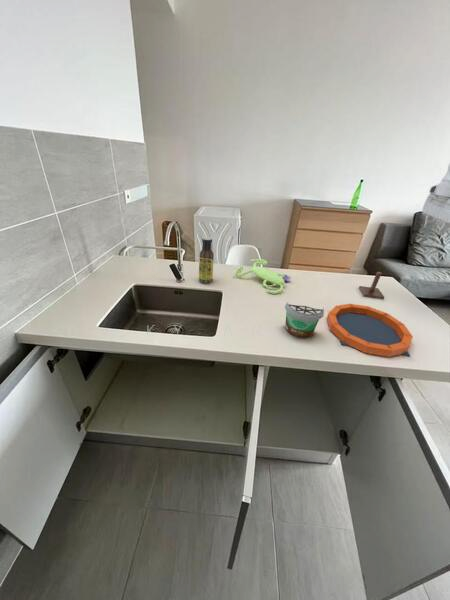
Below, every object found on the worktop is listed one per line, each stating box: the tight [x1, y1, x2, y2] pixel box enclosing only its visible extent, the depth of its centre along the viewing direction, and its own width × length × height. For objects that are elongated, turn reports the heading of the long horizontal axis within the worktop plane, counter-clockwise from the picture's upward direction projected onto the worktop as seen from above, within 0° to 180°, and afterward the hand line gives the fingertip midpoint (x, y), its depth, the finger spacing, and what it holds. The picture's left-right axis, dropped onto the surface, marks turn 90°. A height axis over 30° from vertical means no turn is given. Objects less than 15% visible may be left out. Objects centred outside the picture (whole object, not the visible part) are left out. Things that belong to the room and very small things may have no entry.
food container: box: [284, 301, 325, 339], centre depth 78 cm, size 12×6×10 cm, turn 76°
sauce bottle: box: [198, 236, 215, 284], centre depth 105 cm, size 6×6×20 cm
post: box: [358, 271, 385, 300], centre depth 105 cm, size 8×8×10 cm
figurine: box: [234, 258, 291, 295], centre depth 113 cm, size 18×27×6 cm
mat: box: [336, 312, 411, 357], centre depth 84 cm, size 20×20×1 cm
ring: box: [326, 303, 414, 358], centre depth 83 cm, size 25×25×3 cm
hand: (432, 231), depth 91 cm, fingers open, 8 cm apart
